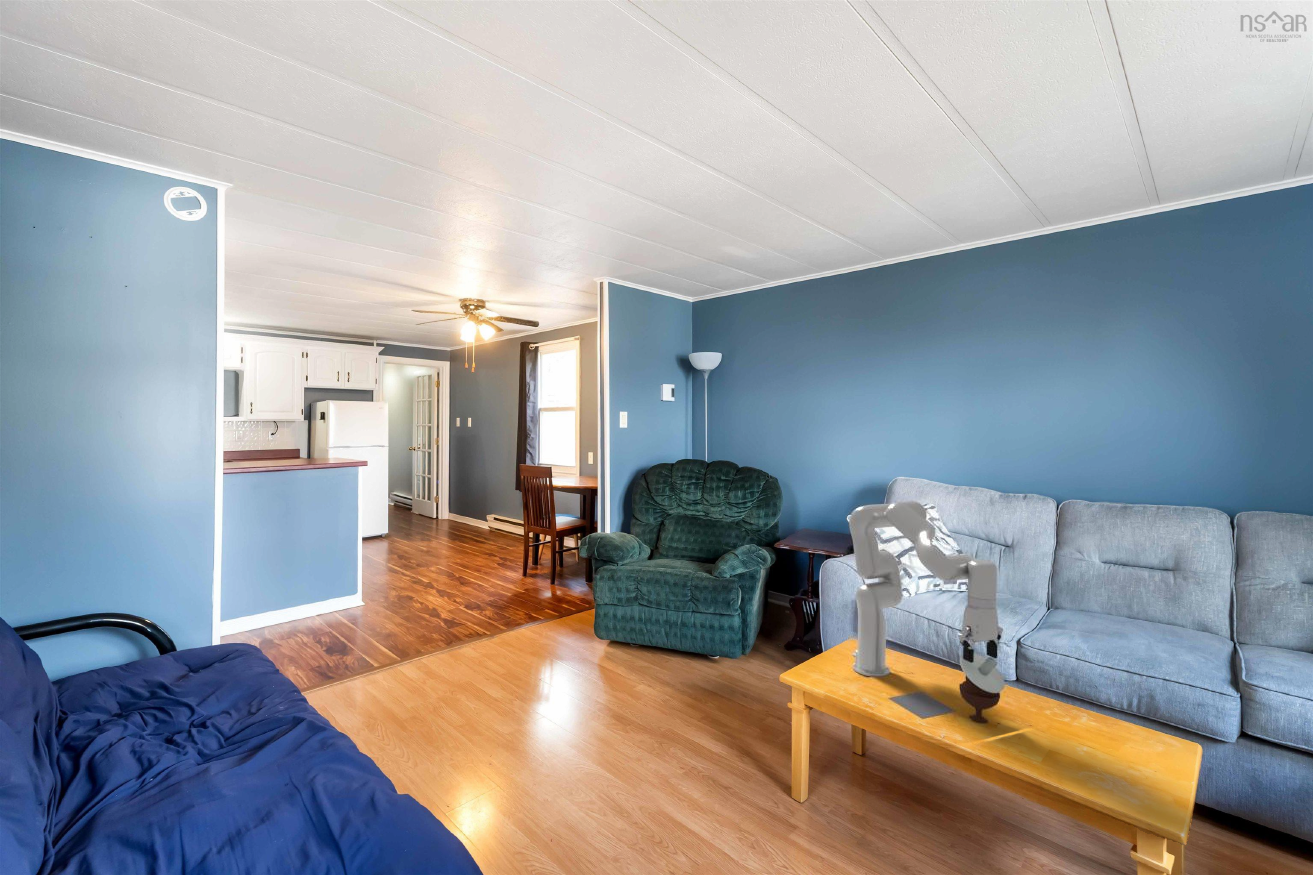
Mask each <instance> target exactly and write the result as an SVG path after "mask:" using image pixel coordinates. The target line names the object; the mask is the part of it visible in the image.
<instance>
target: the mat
mask: <svg viewBox="0 0 1313 875" xmlns="http://www.w3.org/2000/svg"><path fill="white" fill-rule="evenodd" d="M887 699H889V700H890V701H892V702H893V703H895V704H897V705H899V706H900V707H902V708H903V709H905V710H907V711H908V712H910V713H912V714H914V715H915V716H917V717H918V718H920V719H922V720H923V719H924V720H925V719H928V718H932V717H938V716H941V715H946V714H951V713H955V712H957V710H956V709H954V708H953V707H951V706H949V705H947V704H945V703H943V702H941V701H939V700H938V699H935V698H934V697H932V696H931V695H928V694H926V693H925V692H923V691H917V692H911V693H907V694H906V693H905V694H901V695H896V696H891V697H888V698H887Z"/></svg>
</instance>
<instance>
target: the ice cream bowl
mask: <svg viewBox="0 0 1313 875" xmlns="http://www.w3.org/2000/svg"><path fill="white" fill-rule="evenodd" d="M964 678H965V680H964V681H963V682H962V683H959V685H958V686H959V687H958V688H959V693H960V696H961V698H962V699H963V700H964V701H965V702H966V704H968V705H970V706H971V707H972V708H974V709H975V713H974V714H972V715H969V717H968V719H969V720H970V721H972V722H974V723H978V724H983V725H985V724H988V723H989V719H987V718H986V717H984V716H983V711H985V710H987V709H988V710H989V709H992V708H994V707H995V706H997V705H998V703H999V702H1000V698H1001V692H999V693H990V692H987V691H985V690H983V689H981V688H979V687H978V686H977V685H975V684H974V683H973V682H972V681H971V680H970V679H969V678H968V677H967V676H966V675H965V677H964Z"/></svg>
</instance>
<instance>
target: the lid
mask: <svg viewBox="0 0 1313 875" xmlns="http://www.w3.org/2000/svg"><path fill="white" fill-rule="evenodd" d="M959 664H960V667H961V670H962V672H963V673H964V674H965V676H967V677H968V678H969V679H970V680H971V681H972V682H973V683H974V684H975V685H977V686H978V687H979V688H981V689H983V690H985V691H987V692H990V693H999V692H1000V693H1002V691H1003V690H1004V689H1005V686H1006V683H1005V679H1004V677H1003V675H1002V673H1001V672H1000V671H999V669H998V668H997V666H998V662H997V660H996V659H995V658H993V657H990V656H988V657H987V658H985V657H984V656H981V655H980V654H977V653H975V652H974V662H973V663H971V662H968V661H966V660H964V659H963V655H961V657H960V659H959Z"/></svg>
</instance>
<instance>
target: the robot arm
mask: <svg viewBox="0 0 1313 875" xmlns="http://www.w3.org/2000/svg"><path fill="white" fill-rule="evenodd" d="M848 527H849V531H850V534H851V539H852V542H853V553H854V559H855V568H856V571H857V574H858V576H859V578H861V579H863V580H874V579H875V580H876V579H877V581H873V582H869V583H864V584H863V585H860V586H859V587H858V589H857V590H856V593H855V601H856V607H857V616H858V617H857V623H858V624H857V649H856V650H855V651H854V652H853V653H852V654H851V656H852V658H855V661H854V662H853V664H852V669H853V671H855V672H856V673H857V674H860V675H863V676H866V677H871V678H875V677H886V676H888V675H890V674H891V669H890V667H889V666H887V665H886V658H887V657H886V651H887V649H886V646H887V645H886V644H887V620H886V617H885V615H884V613H883V610H885V609H888V608H889V609H890V608H894V607H896V606H898V605H899V604H901V602H902V600H903V589H902V581H901V575H900V567H899V564H898V560H897V559H896V557H895V556H894V554H892V553H891V552H889V551H887V550H880V549H879V544H878V542H879V541H878V539H877V537H876V535H875V533H874V532H873V531H872V530H873V529H883V528H891V527H892V528H893V527H894V529H896V530H897V531H898V532H899V533H901V534H902V536H904V537H905V538H906V539H907V540H908V541H909V542H910V543H912V545H913V546H914V548H915V549H914V550H915V553H916V556H917V557H918V559H919V562H920V564H922V566H923V567H925V569H926V570H928V571H929V573H931V574H932V575H933V576H935V578H937V579H939V580H940V581H943V582H949V583H950V582H955V581H960V580H961V581H963V580H967V599H966V600H967V602H966V604H967V605H965V607H964V611H963V617H962V625H961V631H960V632H958V634H957V636H958V640H959V643H960V644H961V647H962V648H963V650H962V651H963V652H962V656H963V659H964V660H966V661H968V662H971V663H973V662H974V653H975V650H974V649H973V648H974V646H975V645H976V643H981V642H986V656H988V657H991V658H993V659H998V652H999V651H998V649H999V648H998V647H999V646H998V645H1000V640H1001V639H1002V634H1003V632H1004V628H1003V627H1001V626H999V616H998V610H997V585H998V584H997V581H998V580H997V579H998V568H997V567H998V566H997V565H996V563H994V562H992V561H989V560H985V559H979V558H976V557H973V556H971V555H968V554H954V555H947V556H946V555H944V554H943V553H942V552H941V551H940V550H939V549H938V548H936V546H935V545H934V544H933V542H932V541H933V540H934V538H935V536H936V529H935V527H934V526H933V525H932V524H930V523H929V521H927V510H926V507H924V505H923V504H921V503H920V502H917V501H913V500H908V501H898V502H897V501H896V502H893V503H881V504H880V503H879V504H867V505H862V506H859V507H857V508H855V509H854V510H853V511H852V512H851V513H850V515H849V521H848Z"/></svg>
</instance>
